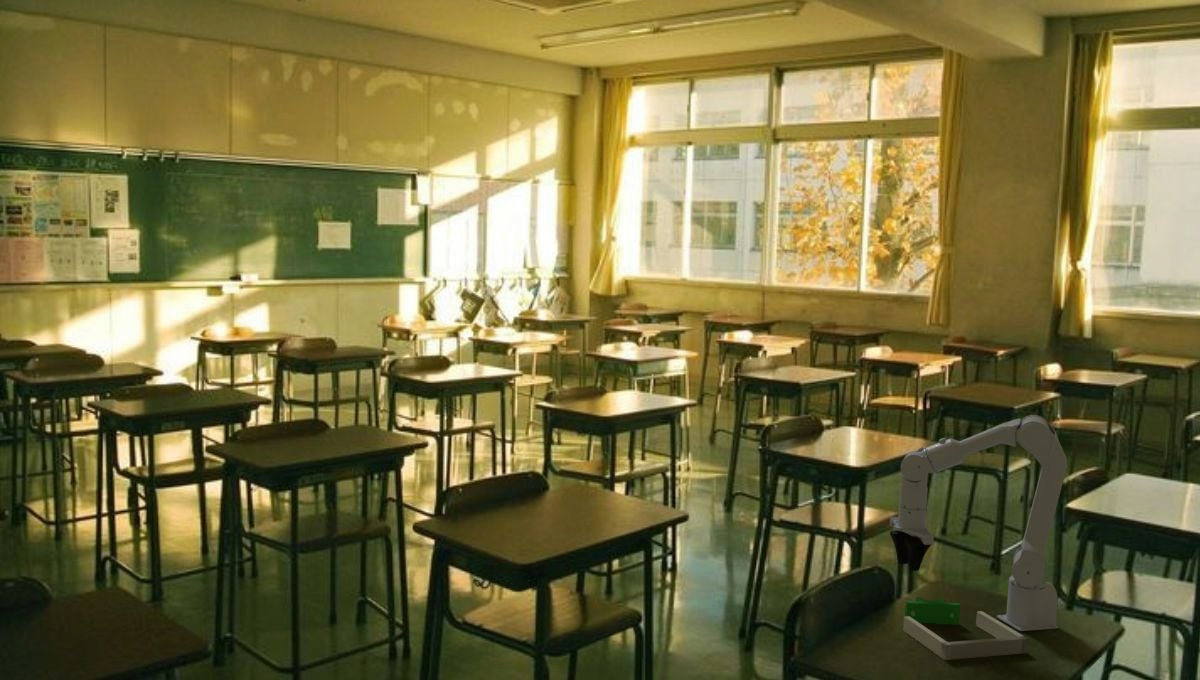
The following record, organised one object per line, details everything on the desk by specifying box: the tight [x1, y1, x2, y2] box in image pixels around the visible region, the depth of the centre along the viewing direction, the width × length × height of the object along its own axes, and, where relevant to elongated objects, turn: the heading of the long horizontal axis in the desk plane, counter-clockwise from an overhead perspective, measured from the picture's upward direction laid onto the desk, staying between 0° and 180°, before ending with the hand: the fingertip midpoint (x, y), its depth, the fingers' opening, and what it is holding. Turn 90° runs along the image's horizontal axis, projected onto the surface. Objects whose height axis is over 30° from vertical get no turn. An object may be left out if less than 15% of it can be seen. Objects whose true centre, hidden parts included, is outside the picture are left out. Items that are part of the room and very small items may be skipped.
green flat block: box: [904, 596, 961, 626], centre depth 216 cm, size 11×4×5 cm, turn 89°
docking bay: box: [902, 610, 1029, 661], centre depth 205 cm, size 18×15×3 cm
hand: (908, 566), depth 224 cm, fingers open, 4 cm apart
